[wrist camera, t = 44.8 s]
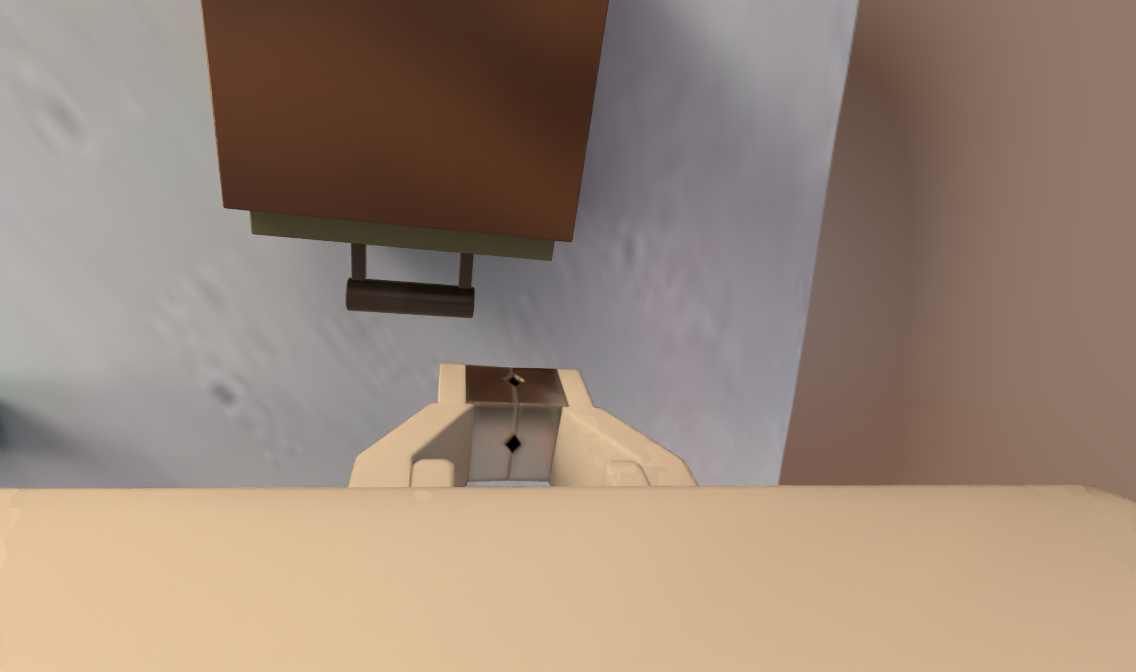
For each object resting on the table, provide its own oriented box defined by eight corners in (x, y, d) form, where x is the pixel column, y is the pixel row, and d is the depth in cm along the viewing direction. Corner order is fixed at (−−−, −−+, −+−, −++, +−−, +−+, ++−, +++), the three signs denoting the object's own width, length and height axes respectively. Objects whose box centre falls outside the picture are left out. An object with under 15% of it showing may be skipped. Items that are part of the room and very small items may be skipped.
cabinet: (538, 196, 33) (572, 242, 24) (297, 168, 30) (223, 208, 21) (574, -96, 27) (638, -192, 18) (279, -170, 24) (163, -334, 15)
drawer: (521, 280, 34) (541, 339, 26) (308, 263, 32) (259, 323, 24) (560, -47, 27) (602, -100, 19) (290, -107, 25) (212, -197, 17)
